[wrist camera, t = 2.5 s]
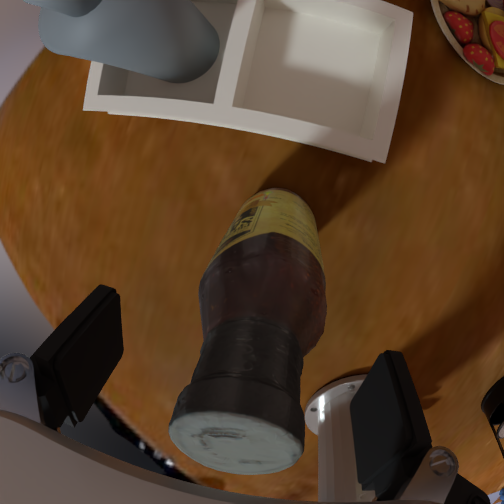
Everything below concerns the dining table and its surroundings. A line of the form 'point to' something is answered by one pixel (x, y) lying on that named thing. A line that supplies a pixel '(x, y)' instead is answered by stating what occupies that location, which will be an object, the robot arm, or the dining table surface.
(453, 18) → the toy food set
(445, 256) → the dining table surface
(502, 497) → the grapes
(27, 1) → the condiment caddy
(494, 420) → the french press
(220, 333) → the sauce bottle
